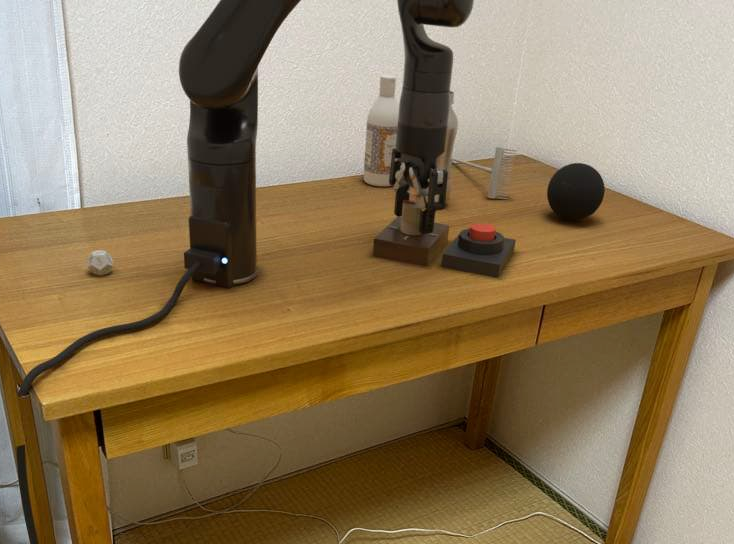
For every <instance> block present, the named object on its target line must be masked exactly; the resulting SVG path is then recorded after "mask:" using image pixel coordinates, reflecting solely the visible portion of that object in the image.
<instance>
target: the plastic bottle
mask: <svg viewBox="0 0 734 544" xmlns="http://www.w3.org/2000/svg"><path fill="white" fill-rule="evenodd" d="M454 99H455V92H454V91H453V90H450V110H449V119H448V128H447V136H446V145H445V151H444V153H443V154H442V155H440V156H438V157H437V159H436V165H437V169H438V170H445V169H446V170H447V172H448V178H447V189H446V201H445V204H447V202H448V201H449V200H450V198H451V194H452V182H451V181H452V180H451V167H452V166H451V164H452V160H451V158H452V157H453V152H454V146H455V142H456V137H457V134H458V130H459V129H458V128H459V120H458V117H457V114H456V113H455V111H454V108H453V105H454V103H455V101H454ZM427 189H429V187H428V188H427ZM423 190H425V189H423ZM437 199H438V202H439V195H437ZM416 200H419V198H418V197H416ZM419 201H420V200H419ZM426 201H427V202H428V196H426Z"/></svg>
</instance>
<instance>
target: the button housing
mask: <svg viewBox="0 0 734 544" xmlns="http://www.w3.org/2000/svg"><path fill="white" fill-rule="evenodd" d="M469 232H470V227H469V228H465V229H462V230H461V231H460V232H459V234H458V235H457V236H456V237H455V238H454V240H453V241H452V242H451V243H450V245H449V246H448V247H447V248H446V249H445V251H444V252H443V253H442V257H441V268H445V269H450V270H455V271H456V270H457V271H460V272H464V273H465V272H466V273H471V274H476V275H481V276H487V277H492V278H496V279H498V278H499V277H500V275H501V274H502V272H503V271H504V269H505V267H507V266H506V265H507V264H508V262H509V261H510V259H511V258H512V256H513V254H514V253H515V247H516V241H517V239H514V238H509V237H505V236H504V235H503V234H502V232H499V231H496V232H495V238H494V240H491V241H480V240H475V239H472V238H470V237H469Z"/></svg>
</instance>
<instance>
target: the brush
mask: <svg viewBox="0 0 734 544" xmlns="http://www.w3.org/2000/svg"><path fill="white" fill-rule="evenodd" d="M515 152H517V150H515V149H509V148H504V147H501V146H495V152H494V157H493V163H492V167H486V166H482V165H479V164H475V163H473V162H470V161H466V160H463V159H459V158H456V157H453V156H452V158H451V161H453V162H456V163H459V164H462V165H466V166H469V167H472V168H475V169H478V170H481V171H483V172H484V171H485V172H486V173H489V174H490V180H489V185H488V190H487V196H486V198H488V199H500V200H508V199H509V198H507V197H509V195H508V194H510V193H509V191H510V190H509V189H510V186H511V184H510V183H511V181H512V177H513V176H512V175H513V172H514V170H513V169H514V167H515V165H514V164H515V163H516V162H515V161H516V155H517V153H515Z"/></svg>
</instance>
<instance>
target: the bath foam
mask: <svg viewBox="0 0 734 544" xmlns="http://www.w3.org/2000/svg"><path fill="white" fill-rule="evenodd" d="M396 85H397V77H396V75H393V74H381V75H380V79H379V93H378V94H379V95H378V97H377V98H376V99H375V101H374V103H373V104H371V108H370V109H369V111H368V114H367V118H366V131H365V132H366V133H365V148H364V162H363V163H364V164H363V182H365V183H366V184H368V185H370V186H374V187H381V188H383V187H384V188H385V187H392V186H393V185H390V184H389V175H390V166H391V157H392V150H393V148H396V137H397V125H398V113H399V102H398V100H397V99H396V96H395V95H396ZM398 172H399V171H396V175H395V177H396V176H397V174H398ZM393 187H394V186H393Z"/></svg>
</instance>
